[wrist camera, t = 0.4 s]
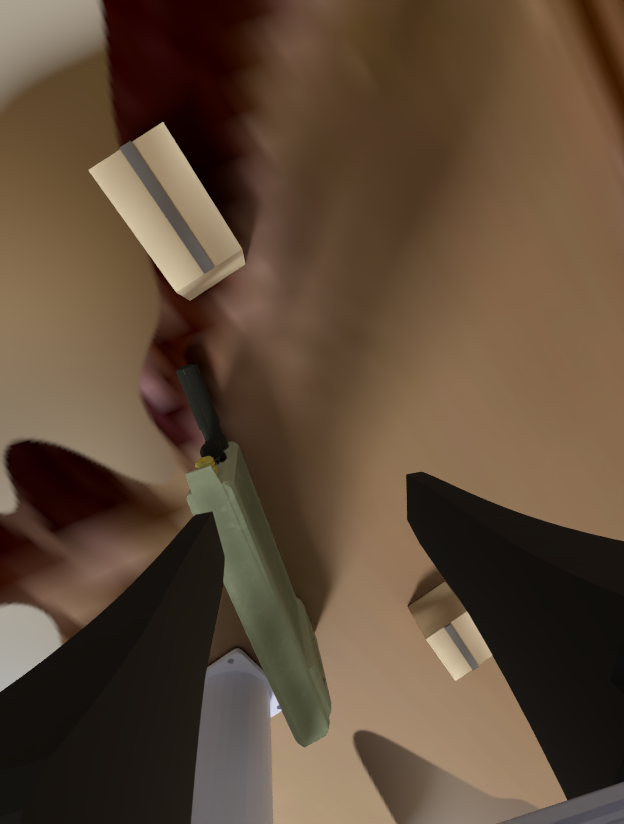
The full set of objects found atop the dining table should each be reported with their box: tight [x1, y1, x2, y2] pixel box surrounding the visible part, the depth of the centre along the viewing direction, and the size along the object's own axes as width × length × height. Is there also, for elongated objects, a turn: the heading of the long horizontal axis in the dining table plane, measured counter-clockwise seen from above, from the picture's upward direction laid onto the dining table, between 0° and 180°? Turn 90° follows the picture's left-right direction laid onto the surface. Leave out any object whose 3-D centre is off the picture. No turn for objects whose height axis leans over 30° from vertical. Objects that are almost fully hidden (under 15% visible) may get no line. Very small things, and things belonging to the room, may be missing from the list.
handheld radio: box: [176, 364, 331, 747], centre depth 19 cm, size 7×3×25 cm
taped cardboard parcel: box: [89, 122, 493, 681], centre depth 20 cm, size 4×42×3 cm, turn 32°
